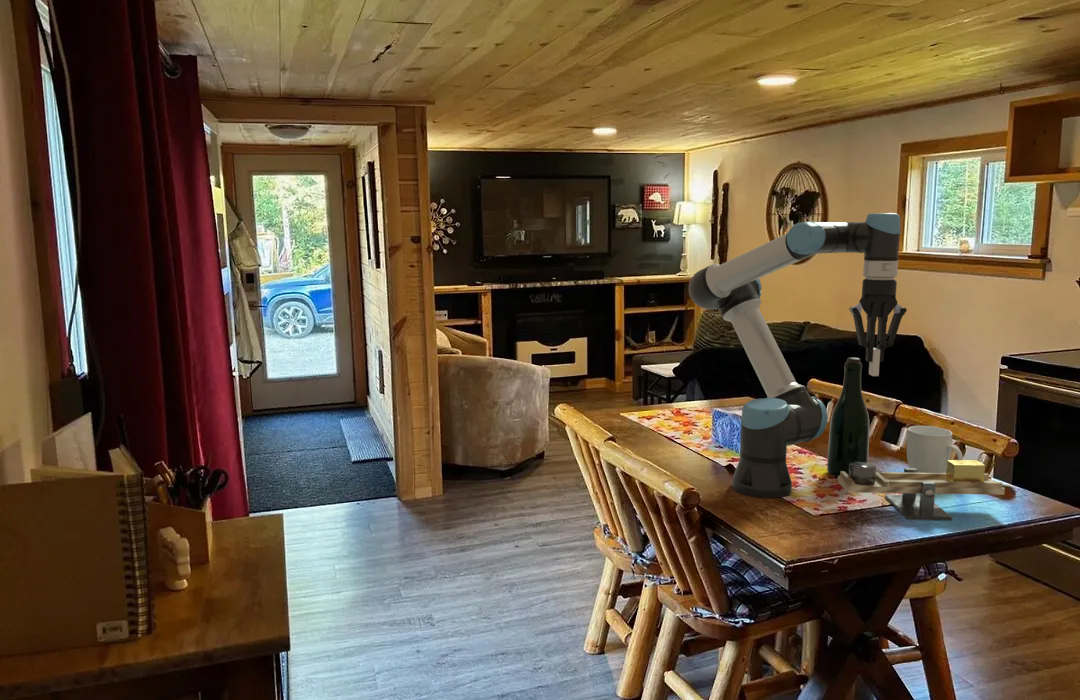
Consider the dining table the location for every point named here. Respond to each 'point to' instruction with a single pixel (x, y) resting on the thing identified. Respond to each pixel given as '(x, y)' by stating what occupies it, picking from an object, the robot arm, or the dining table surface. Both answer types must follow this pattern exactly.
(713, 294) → the robot arm
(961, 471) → the rider
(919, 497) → the stand
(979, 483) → the beam
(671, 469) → the dining table surface
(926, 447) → the mug
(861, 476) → the counterweight
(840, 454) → the green wine bottle
